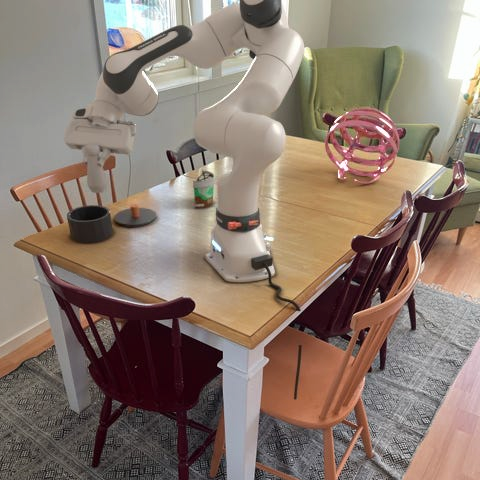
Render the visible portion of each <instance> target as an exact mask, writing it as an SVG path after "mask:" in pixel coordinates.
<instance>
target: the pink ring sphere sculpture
mask: <svg viewBox="0 0 480 480" xmlns="http://www.w3.org/2000/svg"><path fill="white" fill-rule="evenodd" d="M360 116H363V117H367V118H372V119H373V120H377V121H379V122H381V123H382V124H383V125H384V126H383V128H382V127H381V126H379V125H377V124H375V123H372V122H370V121H365V120H362V119H361V120H360V119H359V118H360ZM349 117H352V118H351V119H350V120H347V119H348V118H349ZM347 127H348V128H349V127H352V128H353V130H354V131H355V132H356V133H357V135H356V137H354V138H353V137H352V136H351V135H350V133H349V132H348V131H347ZM337 130H339V132H340V135H341V138H342V139H343V140H344V141H345V142H346V143H347V144H348V148H347V149H344V147H342V146H341V145H340V143H339V142H338V140H337V138H336V134H335V131H337ZM390 130H391V132H392V136H391V134H389V132H390ZM329 138H330V139H329ZM361 138H365V139H366V138H367V139H370V140H377V139H378V140H379V145H368V144H364V143H361V142H360V140H361ZM329 140H330V143H331V145H332V147H333V148H334V150H335V151H336V152H337V153H338V154H339V155H340V156H341V158H342V160H341V161H340V160H339V159H337V157H335V155H334V153H332V151H331V149H330V146H329ZM384 140H385V141H386V142H385V141H384ZM400 141H401V140H400V136H399V132H398V130H397V126H396V124H395V123H394V121H393V120H392V118H391V117H389V115H387V114H386V113H384V112H383V111H381V110H379V109H377V108H373V107H357V108H353V109H350V110H349V111H347V112H346V113H344V114H342V115H340V116H339V117H338V118H336V119H335V121H334V122H333V124H332V125H331V128H330V129H329V131H328V132H327V134H326V136H325V140H324V147H325V152H326V154H327V156H328V158H329V159H330V160H331V162H332V163H333V164H334V165H335V166H336V167H337V168H338V172H337V177H338V179H339V181H342V182H345V181H346V180H347V177H344V174H345V173H349V174H351V175H354V176H360V177H372V178H371V179H370V180H369V181H361V180H358V179H355V178H354V179H353V181H354V182H355V183H357V184H359V185H363V186H364V185H370V184H372V183H374V182H376V181H377V180H378V179H379V178H380V176H382V175H383V174H385V173H387V172H388V171H389V170H390V169H391V168H393V166H394V164H395V163H396V161H397V159H398V158H397V157H398V152H399V150H400V146H401V145H400ZM390 148H391V150H392V153H390V154H389V155H387V151H388V150H389V149H390ZM356 150H358V151H361V152H364V153H369V154H373V153H374V154H376V153H379V155H380V157H379V158H377V159H369V158H368V159H367V158H361V157H358V156H355V154H354V151H356ZM390 161H391V162H390ZM350 162H351V163H354V164H358V165H361V166H366V167H374V166H375V167H376V166H377V167H378V168H377V169H376V170H372V171H369V170H368V171H367V170H360V169H356V168H352V167H350V166H349V163H350ZM389 162H390V164H388V165H387V166H386V164H387V163H389ZM385 166H386V167H385Z"/></svg>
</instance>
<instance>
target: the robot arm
mask: <svg viewBox="0 0 480 480" xmlns="http://www.w3.org/2000/svg"><path fill="white" fill-rule="evenodd" d="M242 49H247V50H249V52H248V54H249V55H248V56H249V57H250V58H251V59H252V60H253V61H252V63H251V65H250V66H249V69H248V70H247V72H246V73H245V75H244V77H243V78H242V80H241V81H240V82H239V83H238V85H237V86H236V87H235V88H234V89H233V90H232V91H231V92H230V93H228V94H226V96H225V97H224V98H223V99H221V100H219V101H218V102H217V103H215V104H213V105H211V106H209V107H206V108H204V109H202V110H200V111H199V112H198V113H197V116H196V117H195V119H194V121H193V125H192V127H193V128H192V131H193V137H194V138H193V139H194V140H195V143H196V144H197V145H198V146H199V147H200V148H202V149H204V150H206V151H209V152H210V153H212V154H215V155H220V156H225V157H229V158H232V167H231V169H230V170H228V171H226V172H224V173H223V174H222V175H221V176H220V177H219V179H218V181H217V183H216V195H217V196H216V198H217V199H216V200H217V205H216V206H217V207H216V209H215V222H216V224H215V225H214V227H213V228H212V229H211V230H210V251H209V252H208V253H206V254H205V260H206V261H207V263H209V264H210V265H211V267H212V268H213V269H214V270H215V271H216V272H217V273H218V275H220V276H221V277H222V279H224V280H225V282H228V283H229V282H230V283H249V282H250V283H251V282H256V281H257V282H258V281H262V280H266V279H268V283H269V286H271V287H272V288H275V289H277V292H276V298H277V299H278V300H280V301H282V302H284V303H285V302H286V303H289V304H292V305H293V306H294V307H295V309H296V310H297V312H301V311H302V310H301V308H300V305H299V304H298V303H297V302H295V301H294V300H292V299H289V298H284V297H282V296H281V295H280V294H281V293H282V287H281V286H280V285H277V284H275V283H273V281H272V277H273V276H275V274H276V271H275V267H274V264H273V263H274V262H273V261H274V257H273V256H271V253H270V252H271V251H272V243H271V242H266V241H272V242H273V241H274V237H269V236H267V233H266V232H263V224H261V213H260V212H261V211H260V208H259V198H260V197H259V194H260V187H261V186H260V185H261V181H262V177H263V175H264V173H265V171H266V170H267V169H268V167H269V166H271V165H272V164H273V163H275V162H277V161H278V159H280V157H281V156H282V154H283V153H284V151H285V147H286V144H287V135H286V131H285V130H286V129H285V128H284V125H283V124H282V123H281V122H280V121H278V120H275V119H273V118H272V117H269V116H267V115H270V114H272V113H274V112H275V111H276V110H278V108H279V107H280V106H281V104H282V103H283V101H284V99H285V97H286V95H287V93H288V91H289V89H290V87H291V85H292V84H293V82H294V80H295V78H296V76H297V74H298V71H299V69H300V66H301V63H302V61H303V58H304V53H305V44H304V40H303V38H302V36H301V35H300V34H299V33H298V32H297V31H295V30H294V29H292V28H290V26H289V20H288V16H287V13H286V10H285V7H284V5H283V3H282V0H239V3H238V2H235V3H231V4H229V5H227V6H224V7H222V8H220V9H219V10H216V11H215V12H213V13H212V14H210V15H209V16H207V17H205V18H204V19H202V20H201V21H199V22H197V23H195V24H192V25H187V26H186V25H184V24H178V25H175V26H172V27H169V28H168V29H165V30H163V31H161V32H159V33H157V34H156V35H153V36H152V37H150V38H148V39H146V40H143V41H142V42H140V43H138V44H136V45H134V46H132V47H129V48H128V49H124V50H120V51H116V52H114V53H113V54H111V55H110V56H109V57H107V59H106V60H105V62H104V65H103V70H102V72H101V74H100V76H99V78H98V81H97V84H96V88H95V97H94V99H93V100H92V102H91V105H88V106H86V107H82V108H78V109H74V110H73V111H72V113H71V114H72V115H71V116H72V118H73V119H71V120H70V121H69V123H68V125H67V127H66V130H65V133H64V136H63V141H64V144H65V145H66V146H67V147H68V148H69V149H70V150H71V149H72V150H79V151H81V152H82V155H83V158H82V163H83V164H84V165H87V154H85V152H84V146H85V145H88V144H97V145H98V146H99V148H100V153H102V154H101V155H100V156H99V157H98V159H97V162H96V163H97V164H98V165H100V166H103V167H104V166H105V162H106V161H107V160H108V159H109V158H110V157H111V154H117V155H131V153H132V152H133V149H134V143H135V136H136V133H137V125H136V124H135V123H134V122H133V121H130V120H129V121H125V120H123V117H124V114H125V113H126V114H128V115H131V116H138V117H144V116H148V115H150V114H151V113H152V112H153V111H154V110H155V109H156V107H157V106H158V103H159V93H158V91H157V89H156V88H155V86H154V84H153V82H151V81H150V79H149V78H148V77H147V75H146V74H145V72H144V71H145V70H146V69H148V68H150V67H152V66H154V65H155V64H157V63H160V62H162V61H163V60H165V59H168V58H169V57H179V58H182V59H184V60H186V61H187V62H189V63H190V64H191V65H193V66H194V67H197V68H198V69H203V70H210V69H212V68H214V67H217V66H218V65H220V64H221V63H222V62H224V61H226V60H227V59H228V58H230V57H231V56H232V55H234V54H235V53H236V52H238V51H239V50H242ZM302 347H303V345H302V344H298V353H297V364H296V365H297V366H296V373H295V380H294V391H293V400H294V401H296V400H297V399H298V388H299V387H298V386H299V380H300V379H299V378H300V371H301V362H302V361H301V360H302Z"/></svg>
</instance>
